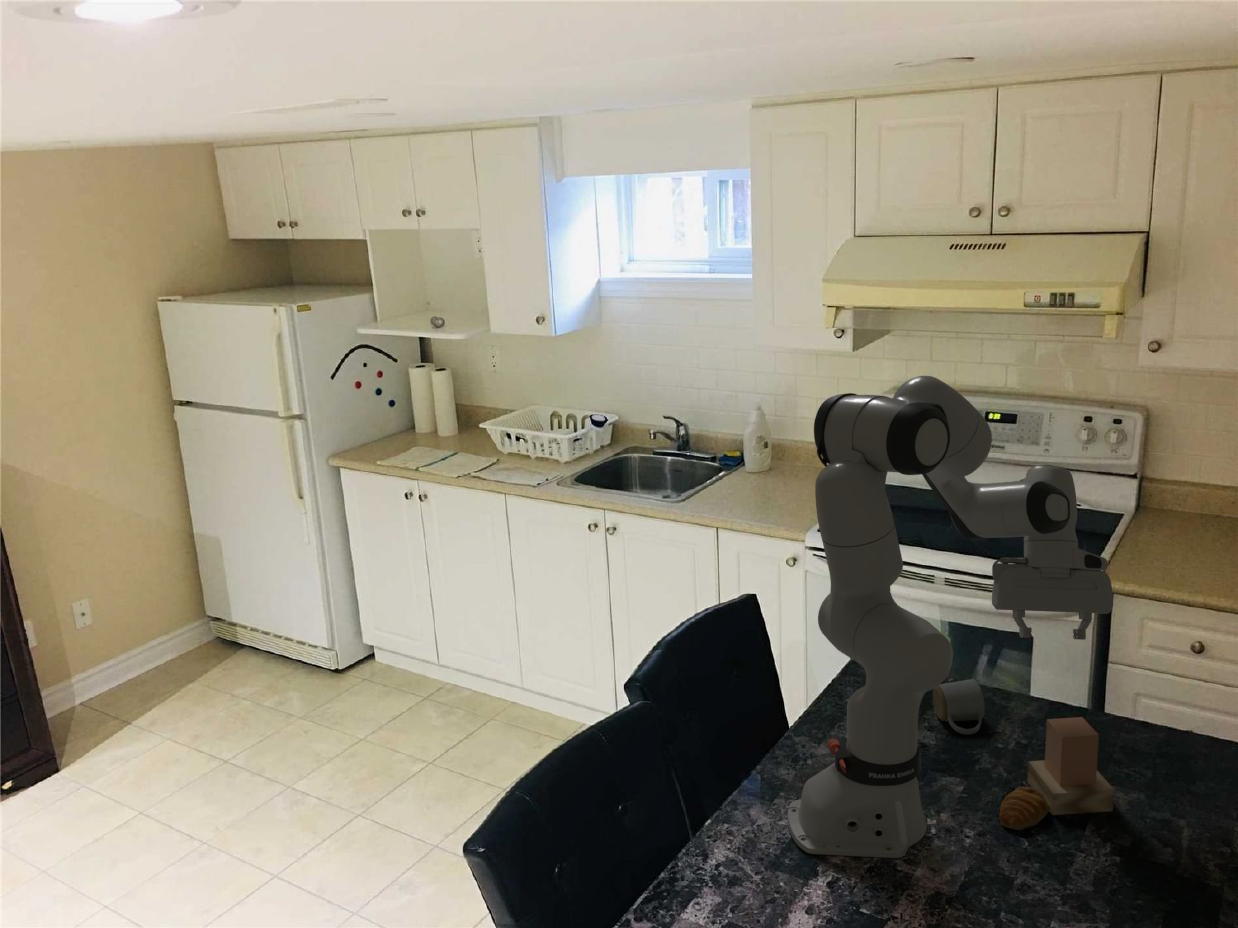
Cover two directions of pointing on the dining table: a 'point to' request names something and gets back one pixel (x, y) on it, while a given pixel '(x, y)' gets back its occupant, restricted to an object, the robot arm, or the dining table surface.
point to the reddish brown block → (1071, 751)
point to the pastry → (1023, 808)
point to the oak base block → (1070, 792)
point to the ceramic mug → (959, 703)
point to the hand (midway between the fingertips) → (1052, 638)
